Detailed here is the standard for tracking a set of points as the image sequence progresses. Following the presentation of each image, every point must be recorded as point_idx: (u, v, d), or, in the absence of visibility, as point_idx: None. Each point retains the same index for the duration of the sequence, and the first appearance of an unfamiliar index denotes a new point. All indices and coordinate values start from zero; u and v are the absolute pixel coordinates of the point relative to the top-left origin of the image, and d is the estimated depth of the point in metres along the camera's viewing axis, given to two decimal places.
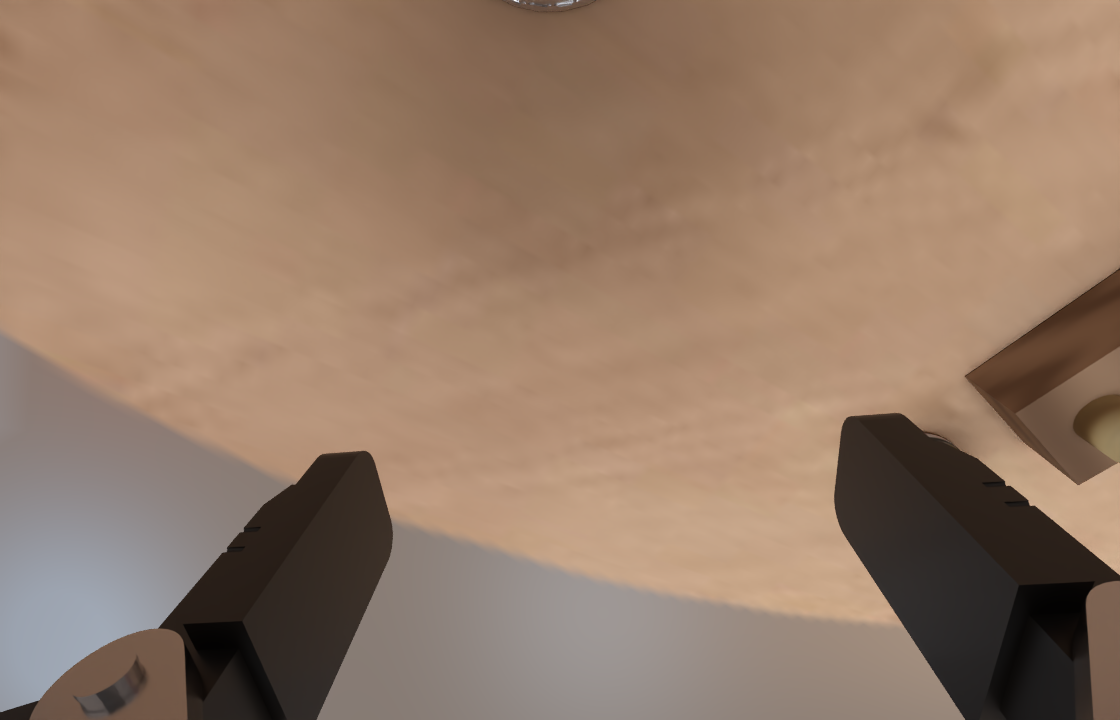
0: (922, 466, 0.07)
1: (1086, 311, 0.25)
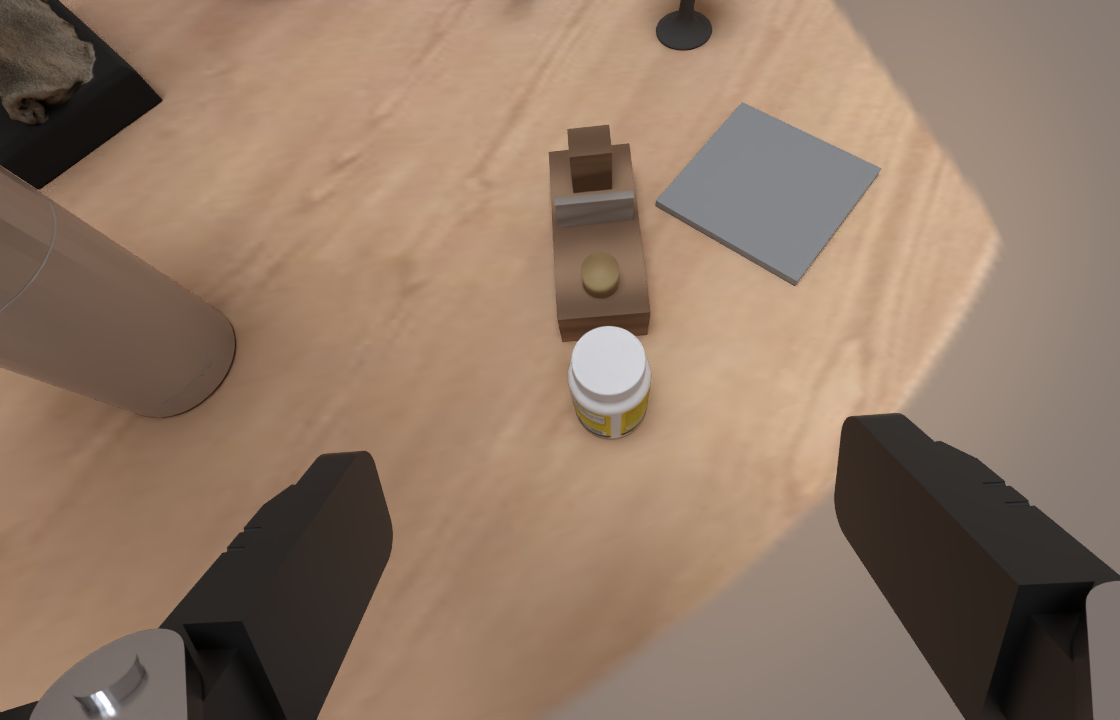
0: (922, 466, 0.07)
1: None
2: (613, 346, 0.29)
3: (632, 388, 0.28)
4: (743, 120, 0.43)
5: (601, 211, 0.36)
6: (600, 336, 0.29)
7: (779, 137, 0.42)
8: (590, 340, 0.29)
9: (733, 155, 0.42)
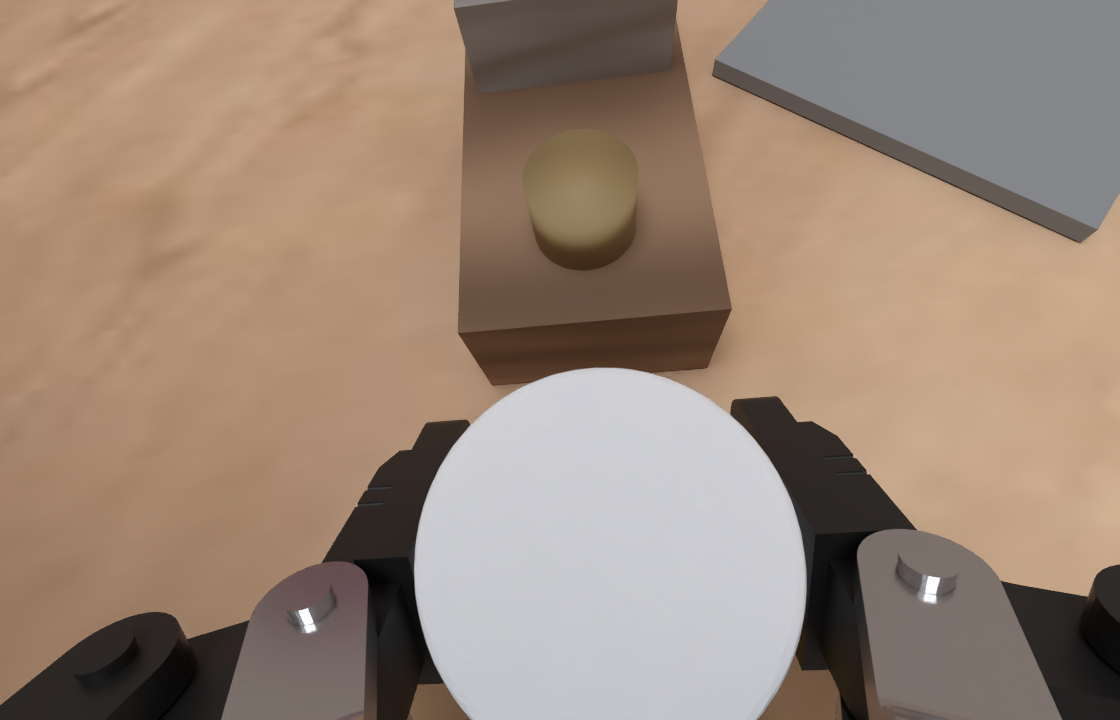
0: (776, 440, 0.08)
1: None
2: (629, 474, 0.06)
3: None
4: None
5: (587, 35, 0.13)
6: (564, 419, 0.06)
7: None
8: (515, 439, 0.06)
9: None
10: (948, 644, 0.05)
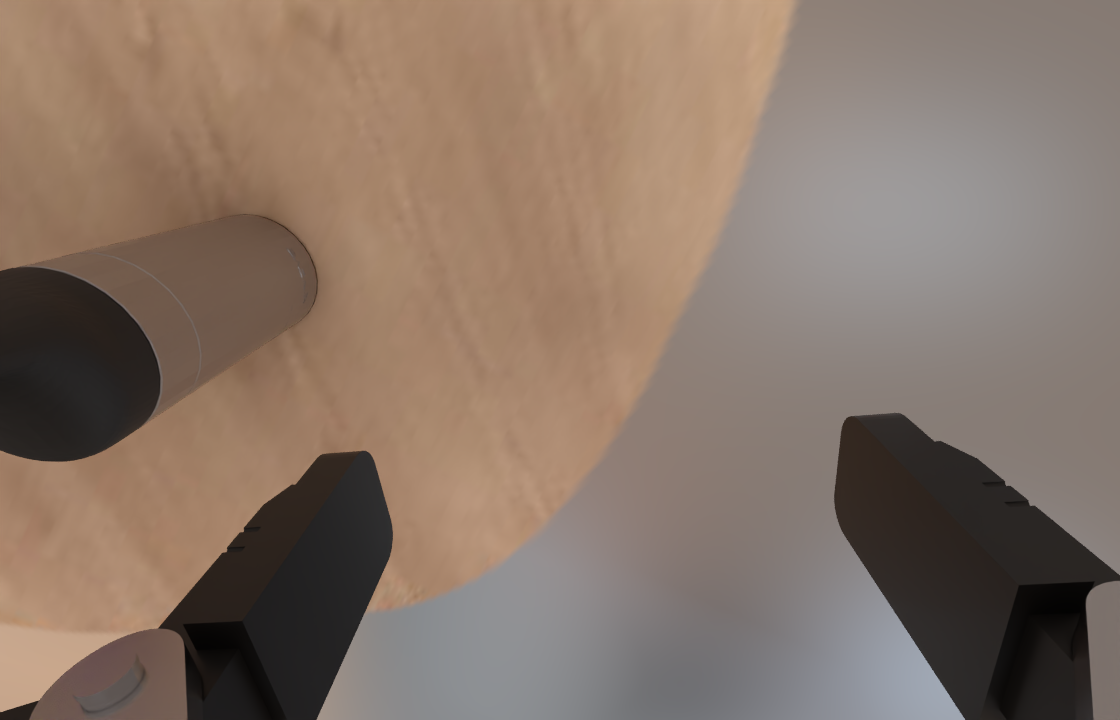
0: (922, 466, 0.07)
1: None
2: None
3: None
4: None
5: None
6: None
7: None
8: None
9: None
10: None
